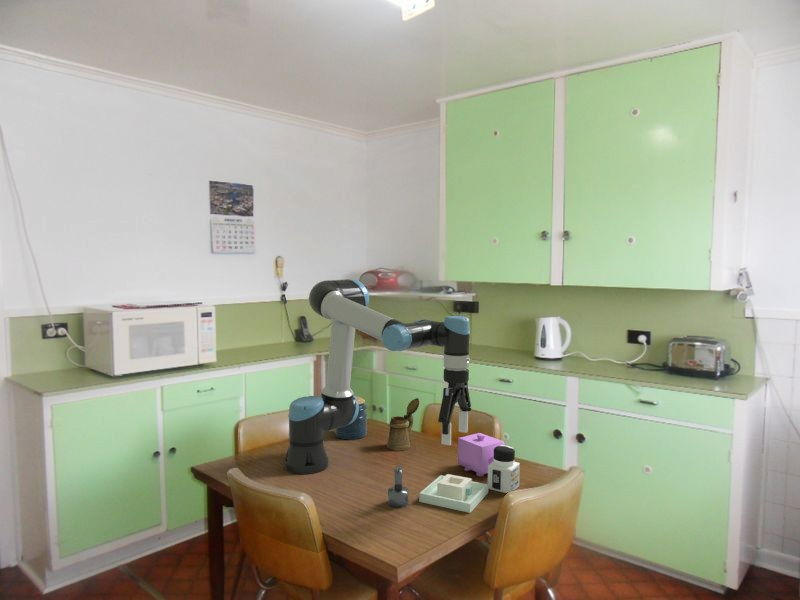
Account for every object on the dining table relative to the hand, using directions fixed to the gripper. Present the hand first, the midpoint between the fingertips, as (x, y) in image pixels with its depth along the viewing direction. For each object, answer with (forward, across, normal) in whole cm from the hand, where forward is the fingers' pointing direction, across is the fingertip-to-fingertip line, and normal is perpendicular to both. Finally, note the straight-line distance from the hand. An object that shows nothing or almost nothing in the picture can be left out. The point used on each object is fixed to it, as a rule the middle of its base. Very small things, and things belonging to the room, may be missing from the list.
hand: (454, 438), depth 173 cm
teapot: (+18, +24, -1) cm, 30 cm away
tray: (+18, 0, 0) cm, 18 cm away
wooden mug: (+19, +35, +35) cm, 53 cm away
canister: (+19, +37, +60) cm, 73 cm away
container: (+18, +14, -11) cm, 26 cm away
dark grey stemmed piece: (+18, -12, +13) cm, 25 cm away
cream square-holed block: (+18, 0, 0) cm, 18 cm away
